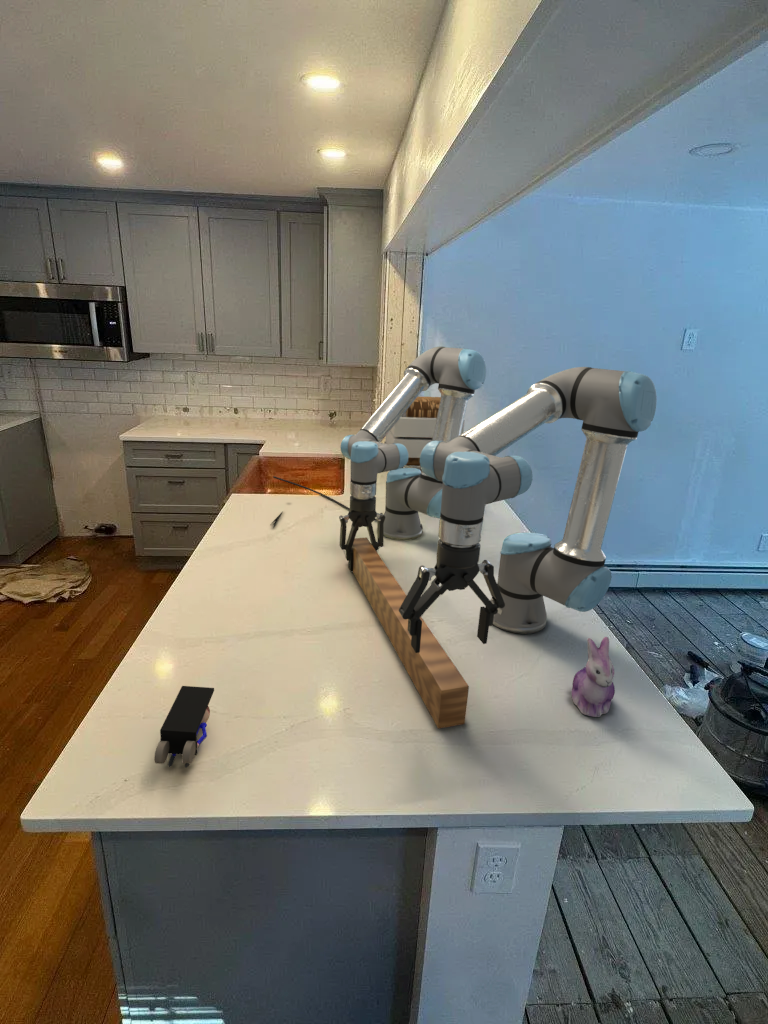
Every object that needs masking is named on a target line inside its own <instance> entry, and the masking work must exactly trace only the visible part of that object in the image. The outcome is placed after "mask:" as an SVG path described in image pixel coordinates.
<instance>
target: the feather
mask: <svg viewBox="0 0 768 1024" xmlns="http://www.w3.org/2000/svg"><path fill="white" fill-rule="evenodd" d="M282 514H283V512H280V514H279V515H278V516H277V517H275V519H274V520H273V521H272V522H271V524H270V526H272V525H273V529H274V528H275V526H276V524H277V523H278V521H279V520H280V518H281V516H282Z"/></svg>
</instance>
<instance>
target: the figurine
mask: <svg viewBox="0 0 768 1024" xmlns="http://www.w3.org/2000/svg"><path fill="white" fill-rule="evenodd" d="M586 641H587V643H586V644H587V659H588V660H587V662H586V664H585V666H584V667H583V668H580V669H579V670H578V671H576V673H575V674H574V675H573V679H572V686H571V691H570V692H571V699H572V702H573V704H574V705H575V706H576V707H577V708H578V710H579V711H580V713H581V714H583V715H584V716H589V717H594V718H600V717H601V716H602V715H605V714H607V713H608V712H609V711H610V708H611V704H612V702H613V699H614V697H615V693H616V690H615V689H616V688H615V684H614V682H613V681H614V680H613V679H614V677H615V667H614V664H613V662H612V659H611V658H610V654H609V653H610V638H609V637H608V636H604V637H603V638H602V640H601V642H600V645H599V647H598V646H597V644H596V643H595V641H594V640H593V639H592V637H591V638H590V637H588V638H587V640H586Z"/></svg>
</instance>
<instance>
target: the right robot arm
mask: <svg viewBox="0 0 768 1024" xmlns="http://www.w3.org/2000/svg"><path fill="white" fill-rule="evenodd" d="M657 398H658V397H657V389H656V386H655V383H654V382H653V379H652V378H650V377H649V376H648V375H646V374H644V373H638V372H634V371H631V370H616V369H609V368H608V369H607V368H597V367H590V366H576V367H571V368H568V369H564V370H561V371H558V372H555V373H553V374H550V375H549V376H546V377H544V378H542V379H541V380H538V381H537V382H536V383H534V384H532V385H531V386H530V387H529V388H528V389H527V390H526V394H524V395H523V396H521V397H519V398H518V399H517V400H515V401H512V402H511V403H510V404H508V405H507V406H504V407H503V408H502V409H500V410H499V411H496V412H495V413H493V414H492V415H490V416H489V417H486V418H485V419H484V420H482V421H480V422H479V423H477V424H476V425H474V426H472V427H471V428H469V429H468V430H465V431H464V432H463V434H461V435H459V436H458V437H456V438H455V439H453V440H451V441H449V442H446V443H445V442H444V441H431V442H429V443H428V444H426V446H425V447H424V448H423V450H422V452H421V455H420V466H419V467H420V469H421V472H422V471H423V472H424V473H425V474H426V475H427V476H430V477H432V478H434V479H436V480H438V481H442V482H443V486H442V501H441V512H440V519H439V523H438V534H437V537H438V540H437V547H436V548H437V549H436V563H435V565H434V567H426V566H425V565H423V564H421V565H420V566H419V567H418V570H417V571H418V572H417V577H416V578H415V580H414V582H412V583H413V584H412V585H411V587H410V589H409V590H408V592H407V594H406V595H407V596H406V597H405V599H404V601H403V603H402V605H401V606H400V608H399V612H400V614H401V616H402V617H403V619H408V632H409V634H410V635H411V636H412V638H411V646H412V648H413V649H414V651H415V652H416V653H420V642H421V629H422V621H421V619H420V617H422V616H423V615H424V614H425V613H426V612H427V610H429V608H430V607H431V606H432V605H433V604H434V602H435V601H436V600H437V599H438V598H439V597H440V596H441V595H444V594H445V593H446V592H447V590H448V592H453V591H456V590H461V591H463V590H466V589H467V588H468V587H469V588H470V590H472V592H473V593H474V594H475V595H476V597H477V598H478V599H479V600H480V602H481V603H482V604H483V605H484V606H480V608H479V615H478V616H479V617H478V625H477V635H476V638H478V640H479V641H480V642H481V643H482V645H485V644H488V637H489V629H490V627H491V626H495V627H496V628H499V629H500V630H502V631H505V632H508V633H509V632H510V633H515V634H522V635H525V634H526V635H527V634H535V633H539V632H540V631H543V629H544V628H545V627H546V625H547V620H548V615H547V614H548V613H547V608H546V604H545V599H544V597H545V598H547V599H550V600H552V601H554V602H556V603H558V604H560V605H563V606H565V608H568V609H572V610H575V611H577V612H580V613H586V612H590V611H591V610H593V609H594V608H596V607H597V606H598V605H599V603H600V602H601V601H602V600H603V599H604V597H605V595H606V594H607V592H608V590H609V588H610V585H611V584H612V583H611V582H612V577H613V576H612V570H610V569H609V567H608V566H605V563H606V560H607V556H606V554H605V553H604V551H603V550H602V547H603V544H604V543H603V542H604V539H605V535H606V531H607V528H608V527H607V526H608V523H609V520H610V515H611V511H612V507H613V503H614V499H615V495H616V493H617V487H618V484H619V480H620V476H621V471H622V468H623V464H624V461H625V456H626V452H627V448H628V446H629V445H630V444H631V443H633V442H634V441H636V440H637V439H638V436H639V433H640V432H645V431H646V430H648V429H649V428H650V426H651V424H652V422H653V421H654V419H655V415H656V411H657V405H658V404H657V403H658V399H657ZM560 419H573V420H578V421H582V425H581V432H582V434H583V435H584V436H585V443H584V447H583V451H582V455H581V459H580V464H579V469H578V473H577V477H576V481H575V486H574V490H573V495H572V499H571V503H570V507H569V510H568V511H569V512H568V516H567V520H566V524H565V528H564V533H563V537H562V539H561V540H560V541H559V542H556V543H555V544H554V545H553V547H552V544H553V543H552V539H551V538H550V537H549V536H548V535H546V534H542V533H537V532H516V533H512V534H509V535H507V536H506V537H505V538H504V539H503V541H502V546H501V550H500V551H499V553H500V557H499V566H498V574H497V580H496V577H495V567H494V565H493V564H492V563H491V562H490V561H489V560H488V559H484V560H482V562H481V563H479V561H480V553H481V543H480V542H481V541H482V534H483V525H484V517H485V509H486V505H490V504H493V503H496V502H500V501H504V500H509V499H510V500H511V499H515V498H516V497H518V496H520V495H523V494H524V493H527V492H528V491H529V489H530V488H531V486H532V484H533V483H532V482H533V470H532V469H533V468H532V467H531V465H530V463H529V462H528V460H526V459H525V458H524V457H522V456H520V455H505V456H504V457H503V456H502V457H501V456H497V455H499V454H500V453H502V452H504V451H505V450H506V449H508V448H509V447H511V446H512V445H514V444H516V443H517V442H519V441H520V440H521V439H522V438H525V437H526V436H527V435H529V434H530V433H532V432H533V431H535V430H537V429H538V428H540V427H541V426H543V425H544V424H552V423H555V422H556V421H559V420H560ZM479 572H480V574H482V576H483V578H484V581H485V583H486V586H487V588H488V591H489V593H490V596H491V598H489V597H488V596H487V595H486V594H485V592H484V591H483V590H482V589H481V587H480V585H478V584H477V582H476V581H475V578H476V577H477V575H478V574H479ZM434 576H435V578H433V577H434ZM432 578H433V580H432ZM429 582H430V585H429V587H428V584H429ZM427 587H428V588H427ZM426 588H427V589H426Z"/></svg>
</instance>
